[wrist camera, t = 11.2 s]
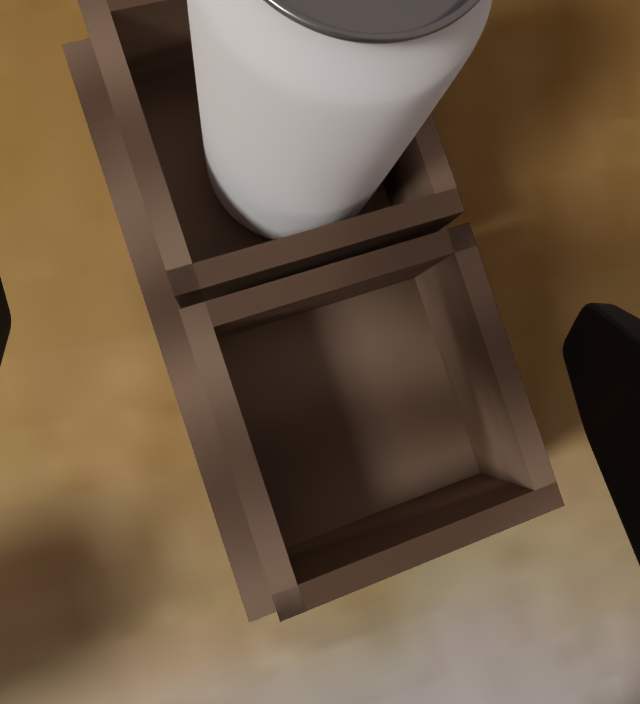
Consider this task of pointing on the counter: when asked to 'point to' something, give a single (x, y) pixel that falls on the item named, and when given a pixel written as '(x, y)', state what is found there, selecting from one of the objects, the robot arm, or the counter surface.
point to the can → (318, 98)
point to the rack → (312, 342)
